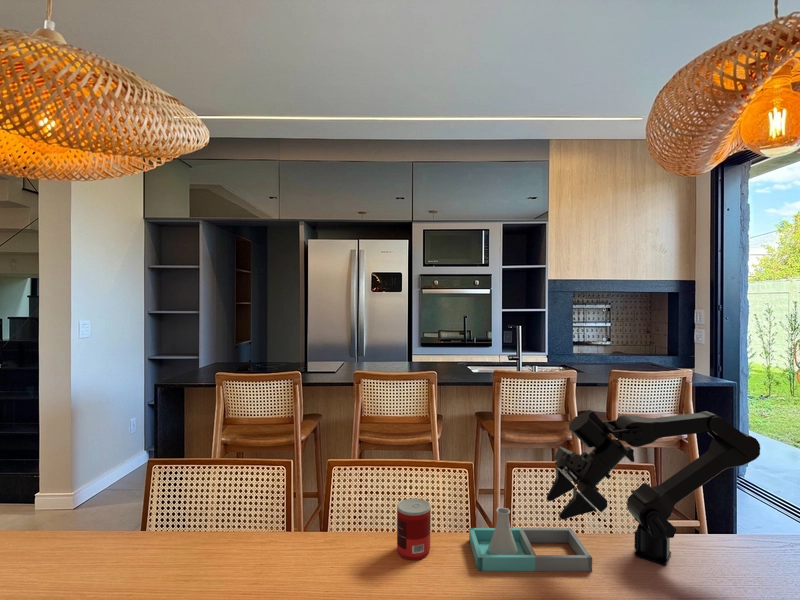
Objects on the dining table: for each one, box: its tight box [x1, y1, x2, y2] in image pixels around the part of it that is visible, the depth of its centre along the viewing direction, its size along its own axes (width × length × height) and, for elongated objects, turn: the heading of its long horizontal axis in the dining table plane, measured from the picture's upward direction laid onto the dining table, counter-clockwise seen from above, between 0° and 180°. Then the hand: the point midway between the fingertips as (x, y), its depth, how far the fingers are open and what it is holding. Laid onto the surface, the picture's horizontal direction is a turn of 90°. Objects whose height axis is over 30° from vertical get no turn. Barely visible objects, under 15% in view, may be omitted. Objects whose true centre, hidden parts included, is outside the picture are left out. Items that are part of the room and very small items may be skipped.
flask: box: [487, 507, 519, 555], centre depth 112 cm, size 7×7×10 cm
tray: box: [468, 527, 593, 572], centre depth 112 cm, size 25×13×3 cm, turn 90°
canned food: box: [396, 498, 432, 561], centre depth 113 cm, size 8×8×11 cm
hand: (553, 508), depth 112 cm, fingers open, 9 cm apart
